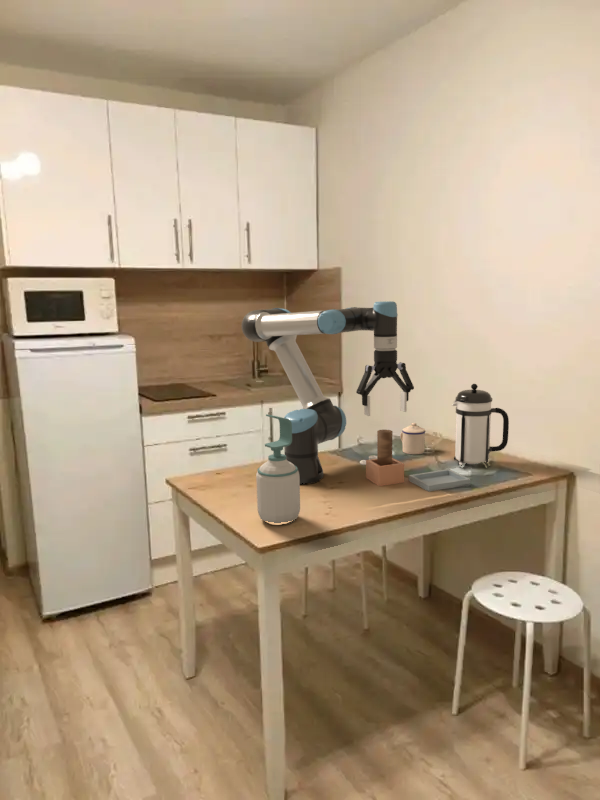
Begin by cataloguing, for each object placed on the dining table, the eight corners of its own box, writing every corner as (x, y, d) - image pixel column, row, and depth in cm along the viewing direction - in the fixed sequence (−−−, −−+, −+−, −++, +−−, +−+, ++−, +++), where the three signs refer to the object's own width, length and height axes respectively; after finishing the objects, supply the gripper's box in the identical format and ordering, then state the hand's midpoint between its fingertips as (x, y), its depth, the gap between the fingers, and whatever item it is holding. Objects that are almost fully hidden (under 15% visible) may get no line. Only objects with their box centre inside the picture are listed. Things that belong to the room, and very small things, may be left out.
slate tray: (428, 493, 195) (428, 485, 194) (408, 482, 206) (408, 475, 206) (470, 486, 201) (470, 479, 200) (448, 475, 212) (449, 469, 211)
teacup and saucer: (356, 465, 227) (356, 455, 226) (374, 462, 231) (374, 452, 230) (370, 471, 220) (370, 460, 219) (388, 468, 223) (388, 457, 222)
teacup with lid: (430, 452, 241) (430, 423, 239) (412, 456, 236) (413, 427, 234) (409, 445, 251) (409, 418, 249) (392, 449, 246) (392, 421, 244)
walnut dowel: (381, 483, 204) (381, 433, 201) (374, 478, 208) (374, 430, 205) (394, 481, 206) (395, 432, 202) (387, 476, 210) (387, 428, 207)
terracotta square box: (379, 487, 201) (379, 467, 200) (365, 479, 210) (365, 459, 208) (403, 483, 205) (404, 463, 203) (390, 475, 213) (390, 456, 212)
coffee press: (477, 473, 214) (480, 389, 208) (442, 463, 226) (444, 383, 221) (508, 464, 224) (511, 383, 218) (472, 454, 236) (475, 378, 231)
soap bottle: (249, 519, 177) (244, 414, 171) (282, 508, 185) (279, 407, 179) (275, 532, 168) (271, 421, 162) (309, 520, 175) (307, 414, 169)
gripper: (356, 352, 191) (356, 419, 195) (424, 347, 199) (424, 411, 203) (345, 350, 198) (346, 414, 202) (412, 346, 206) (412, 407, 210)
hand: (385, 413), depth 203 cm, fingers open, 13 cm apart
